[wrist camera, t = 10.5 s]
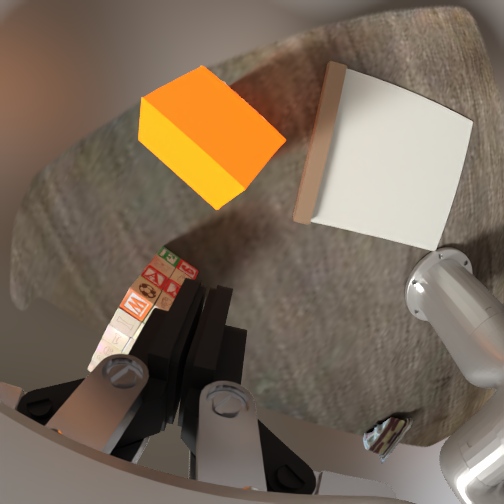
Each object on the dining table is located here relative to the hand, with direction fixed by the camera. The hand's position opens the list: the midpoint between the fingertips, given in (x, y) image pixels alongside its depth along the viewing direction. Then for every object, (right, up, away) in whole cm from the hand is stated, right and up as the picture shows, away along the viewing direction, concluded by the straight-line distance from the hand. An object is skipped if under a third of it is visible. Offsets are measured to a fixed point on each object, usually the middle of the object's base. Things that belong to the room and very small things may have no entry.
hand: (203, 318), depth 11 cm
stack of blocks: (-14, -6, +36) cm, 39 cm away
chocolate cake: (+33, -33, +47) cm, 66 cm away
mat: (+21, +13, +25) cm, 35 cm away
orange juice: (-1, +17, +25) cm, 30 cm away
